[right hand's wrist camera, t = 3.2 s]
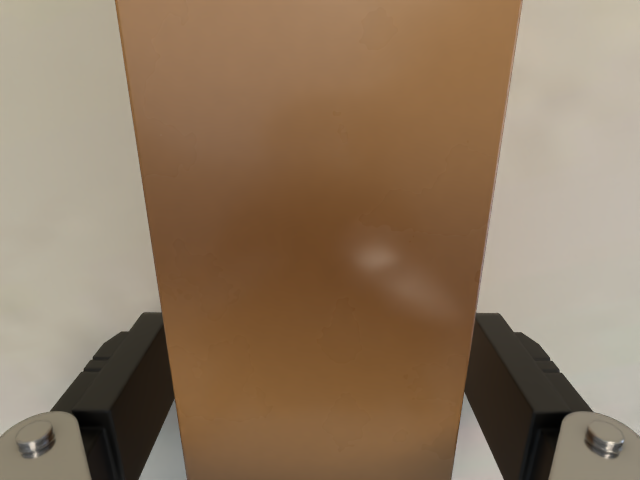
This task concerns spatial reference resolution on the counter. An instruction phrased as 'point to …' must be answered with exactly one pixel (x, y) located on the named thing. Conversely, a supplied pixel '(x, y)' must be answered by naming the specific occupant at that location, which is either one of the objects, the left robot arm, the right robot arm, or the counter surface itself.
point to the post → (318, 222)
